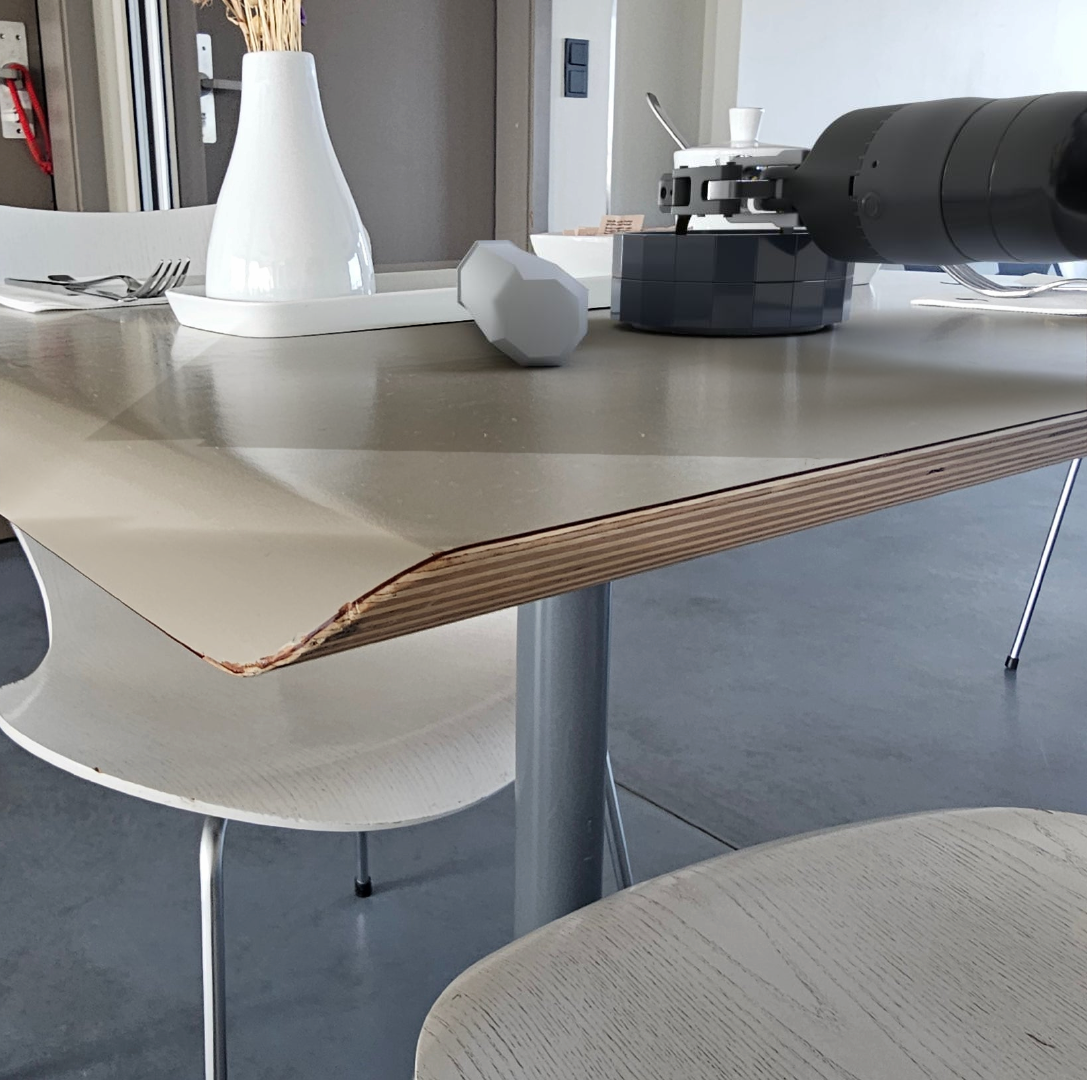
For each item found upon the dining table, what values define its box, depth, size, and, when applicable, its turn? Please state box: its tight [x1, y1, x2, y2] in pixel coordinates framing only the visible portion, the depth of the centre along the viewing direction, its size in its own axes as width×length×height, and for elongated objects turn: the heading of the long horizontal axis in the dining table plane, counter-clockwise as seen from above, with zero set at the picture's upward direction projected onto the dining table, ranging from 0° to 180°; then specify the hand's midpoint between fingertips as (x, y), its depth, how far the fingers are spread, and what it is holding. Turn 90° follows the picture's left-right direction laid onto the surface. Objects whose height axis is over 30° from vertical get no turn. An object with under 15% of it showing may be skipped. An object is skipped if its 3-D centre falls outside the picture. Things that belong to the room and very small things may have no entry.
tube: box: [456, 239, 589, 367], centre depth 65 cm, size 5×5×25 cm
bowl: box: [609, 228, 856, 337], centre depth 71 cm, size 14×14×6 cm
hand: (712, 192), depth 72 cm, fingers closed on ring, 6 cm apart
